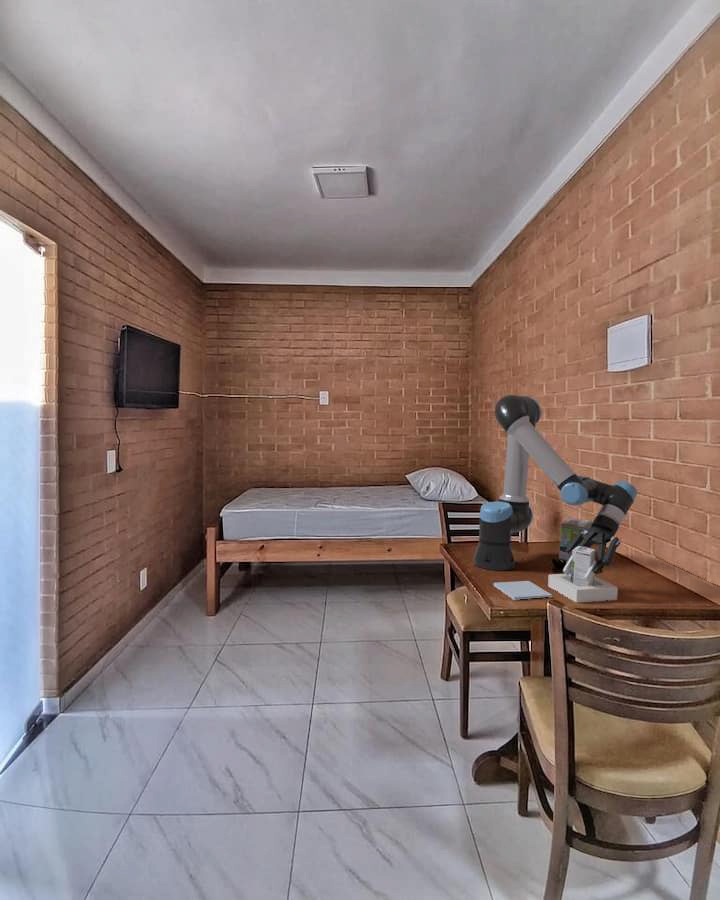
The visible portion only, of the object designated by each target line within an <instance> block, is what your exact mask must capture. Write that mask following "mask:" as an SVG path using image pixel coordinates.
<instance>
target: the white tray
mask: <svg viewBox="0 0 720 900" xmlns="http://www.w3.org/2000/svg"><path fill="white" fill-rule="evenodd" d="M570 578H571V572H570V573H569V575H568V576H567V575H566V574H565V573H553V574H548V578H547V579H548V582H547V583H548V584H547V586H548V587H549V588H550V589H552V590H554V591H555V590H556V591H555V592H557V591H558V592H557V593H558V594H561V595H562V594H563V595H562V596H564V597H565V598H567V597H568V599H569V600H571V601H573V602H574V603H577V604H579V603H590V602H591V603H593V601H594V602H606V600H608V601H617V600H618V591H619V589H618V588H619V587H617V586H616V585H614V584H612V583H610V582H608V581H605V580H604V579H601V578H599V577H596V576H595V575H594V581H593V586H581V587H579V586H577V585H575V584H573V583H571V582H570Z"/></svg>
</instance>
